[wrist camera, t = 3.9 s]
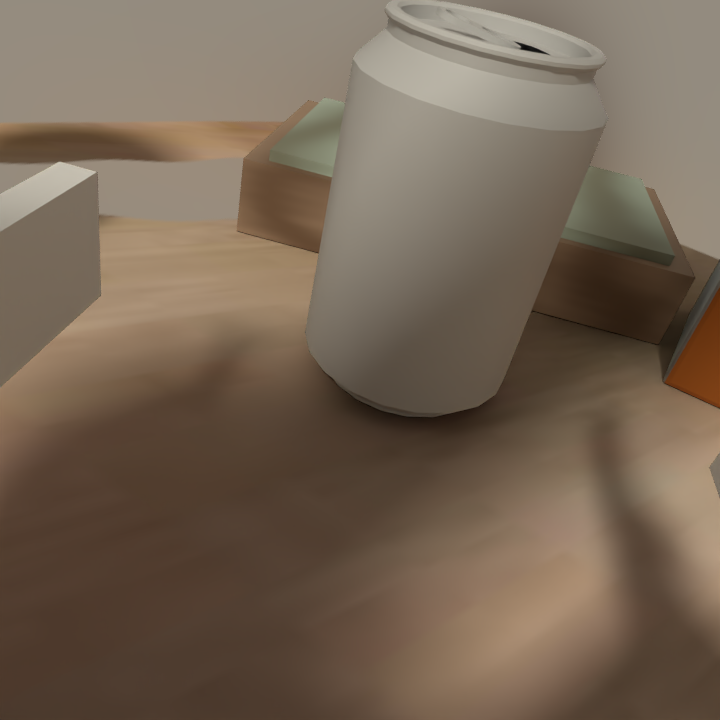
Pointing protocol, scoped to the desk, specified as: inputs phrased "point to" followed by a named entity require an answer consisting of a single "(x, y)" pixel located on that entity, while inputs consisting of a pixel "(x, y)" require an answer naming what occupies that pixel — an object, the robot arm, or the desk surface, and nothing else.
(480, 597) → the desk surface
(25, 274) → the robot arm
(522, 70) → the can
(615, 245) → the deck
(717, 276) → the alarm clock
